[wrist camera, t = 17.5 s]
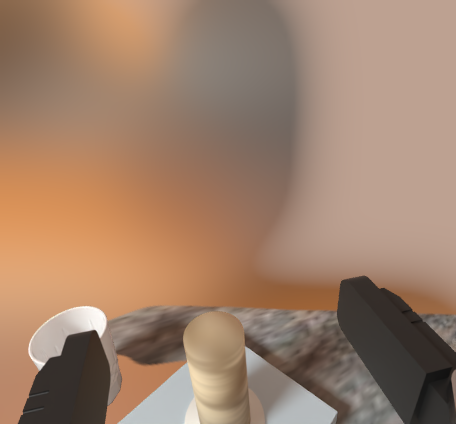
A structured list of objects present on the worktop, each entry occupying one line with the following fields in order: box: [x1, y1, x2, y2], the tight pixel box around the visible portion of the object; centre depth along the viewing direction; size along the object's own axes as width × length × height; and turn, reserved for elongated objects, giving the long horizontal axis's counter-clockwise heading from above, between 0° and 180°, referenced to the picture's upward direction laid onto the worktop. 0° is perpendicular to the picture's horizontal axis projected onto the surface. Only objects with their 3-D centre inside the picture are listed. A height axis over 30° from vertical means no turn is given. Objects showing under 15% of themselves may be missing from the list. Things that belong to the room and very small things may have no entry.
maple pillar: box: [183, 311, 251, 424], centre depth 29 cm, size 5×5×12 cm
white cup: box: [29, 306, 122, 406], centre depth 36 cm, size 8×8×10 cm
